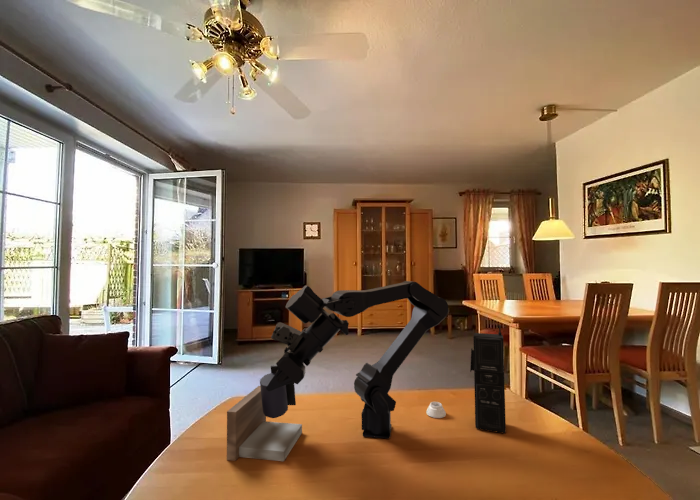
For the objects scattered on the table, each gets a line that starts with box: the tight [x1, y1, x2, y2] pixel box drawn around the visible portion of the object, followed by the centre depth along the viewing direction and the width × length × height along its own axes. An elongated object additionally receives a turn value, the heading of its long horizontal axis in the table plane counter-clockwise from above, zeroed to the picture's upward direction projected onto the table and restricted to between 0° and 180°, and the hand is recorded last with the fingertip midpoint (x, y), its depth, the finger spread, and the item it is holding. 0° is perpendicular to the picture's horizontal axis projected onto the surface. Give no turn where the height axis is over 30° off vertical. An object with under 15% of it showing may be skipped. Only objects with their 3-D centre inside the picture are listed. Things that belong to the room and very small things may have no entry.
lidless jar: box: [425, 401, 447, 419], centre depth 91 cm, size 5×3×5 cm
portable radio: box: [469, 325, 507, 434], centre depth 85 cm, size 8×6×25 cm
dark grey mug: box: [259, 365, 297, 419], centre depth 79 cm, size 8×6×10 cm
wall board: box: [226, 385, 303, 462], centre depth 77 cm, size 12×15×10 cm
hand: (270, 384), depth 77 cm, fingers closed on dark grey mug, 6 cm apart
